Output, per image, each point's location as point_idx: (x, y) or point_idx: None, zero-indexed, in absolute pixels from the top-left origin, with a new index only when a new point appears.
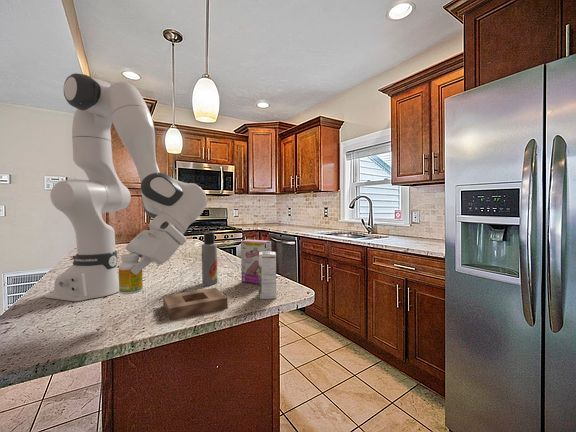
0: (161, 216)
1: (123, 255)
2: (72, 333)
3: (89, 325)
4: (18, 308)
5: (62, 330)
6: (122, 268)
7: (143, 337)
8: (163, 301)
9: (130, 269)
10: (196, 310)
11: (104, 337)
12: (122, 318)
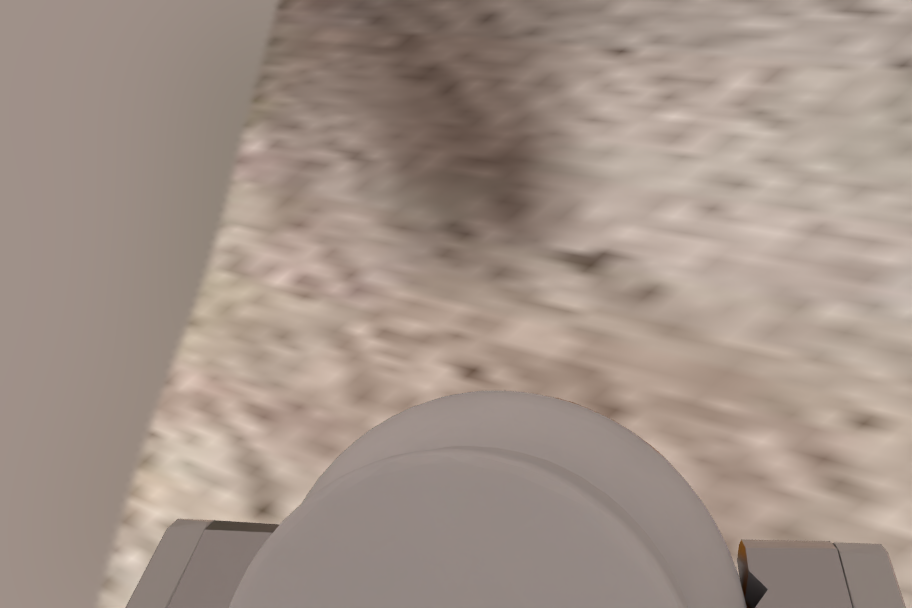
0: None
1: (490, 514)
2: (658, 100)
3: (747, 226)
4: None
5: (795, 49)
6: (382, 422)
7: (157, 464)
8: None
9: (246, 531)
10: None
11: (383, 260)
12: (703, 485)
